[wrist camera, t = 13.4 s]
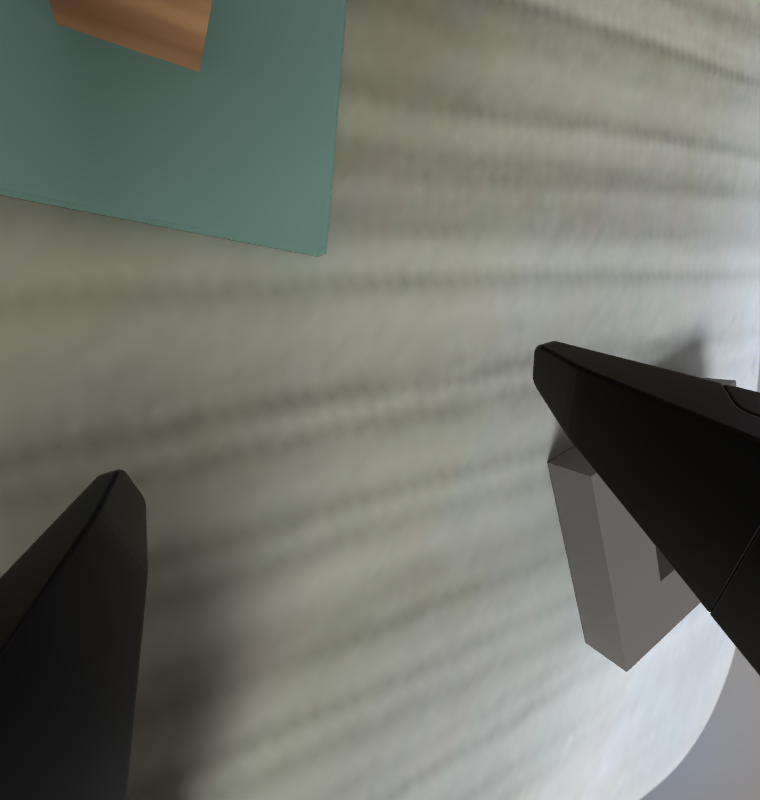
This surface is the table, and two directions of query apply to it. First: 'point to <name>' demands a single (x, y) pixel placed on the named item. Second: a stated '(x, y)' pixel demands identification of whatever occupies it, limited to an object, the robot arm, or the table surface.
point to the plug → (142, 25)
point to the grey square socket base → (615, 565)
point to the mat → (179, 122)
